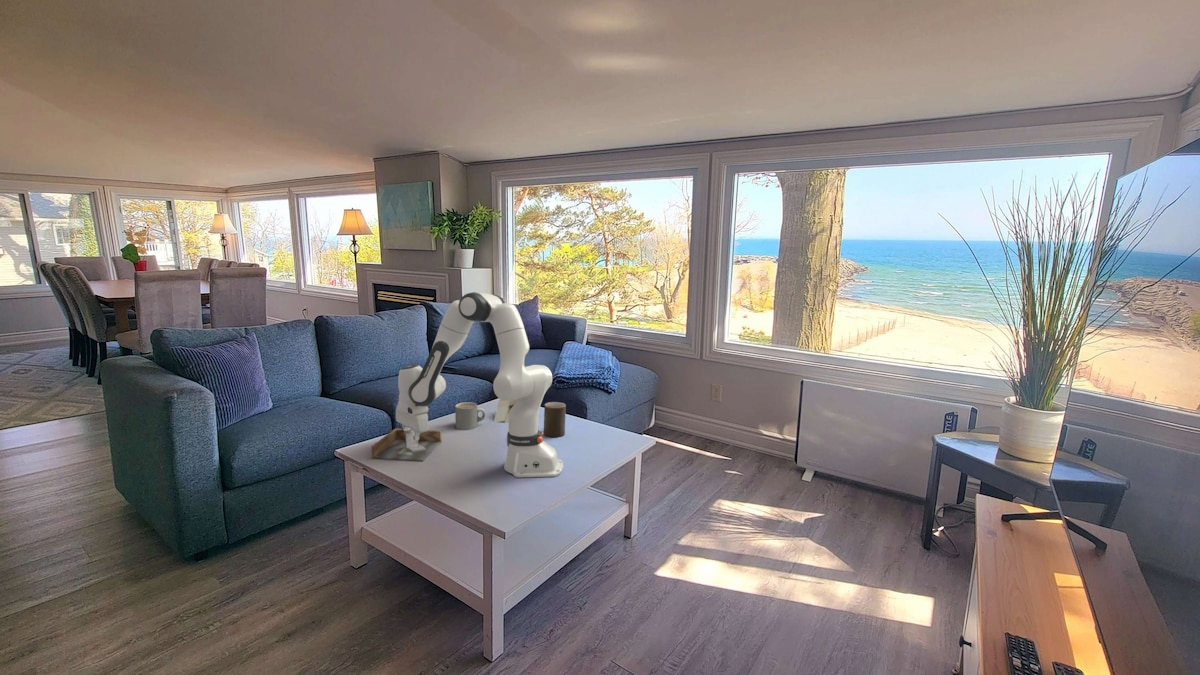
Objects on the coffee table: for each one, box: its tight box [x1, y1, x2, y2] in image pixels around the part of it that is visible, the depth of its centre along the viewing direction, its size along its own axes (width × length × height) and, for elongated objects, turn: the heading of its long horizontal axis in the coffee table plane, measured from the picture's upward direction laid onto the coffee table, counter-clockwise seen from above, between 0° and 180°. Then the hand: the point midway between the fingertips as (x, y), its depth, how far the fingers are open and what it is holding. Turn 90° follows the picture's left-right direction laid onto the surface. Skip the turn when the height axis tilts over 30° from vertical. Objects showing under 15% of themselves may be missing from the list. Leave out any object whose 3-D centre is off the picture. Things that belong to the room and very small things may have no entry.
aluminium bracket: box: [405, 430, 426, 454], centre depth 202 cm, size 7×5×7 cm
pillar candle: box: [542, 401, 567, 438], centre depth 226 cm, size 10×10×15 cm
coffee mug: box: [454, 401, 486, 431], centre depth 232 cm, size 13×10×10 cm
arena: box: [371, 428, 443, 462], centre depth 203 cm, size 20×20×5 cm
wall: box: [493, 399, 517, 423], centre depth 248 cm, size 16×9×15 cm
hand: (411, 437), depth 203 cm, fingers open, 6 cm apart
